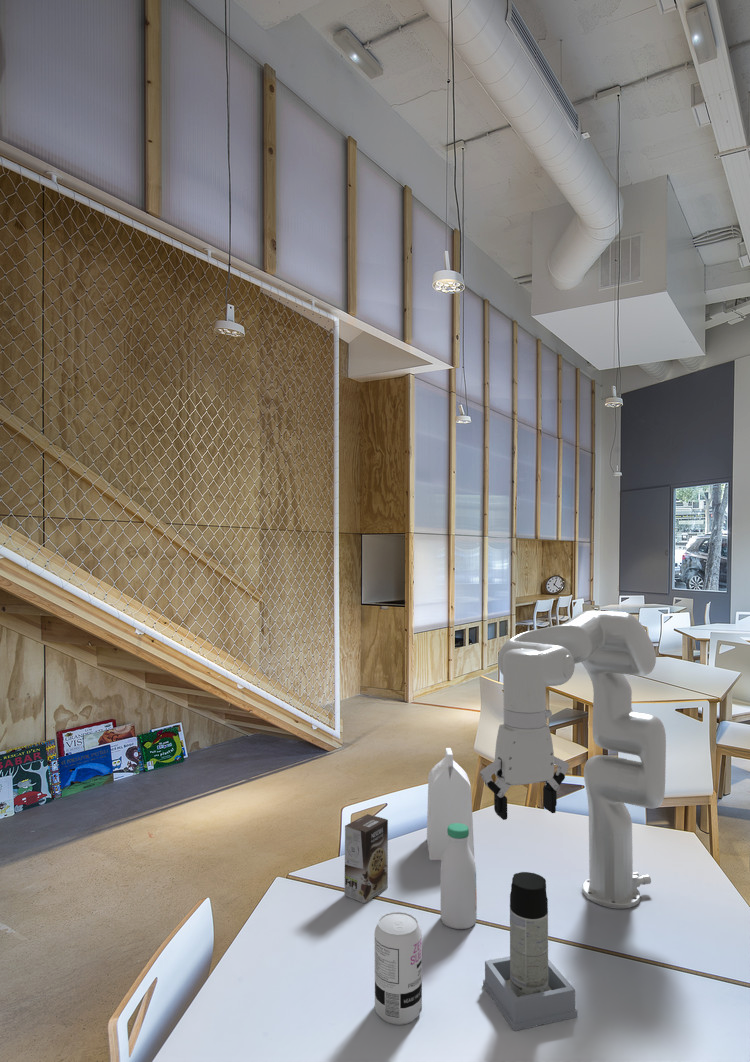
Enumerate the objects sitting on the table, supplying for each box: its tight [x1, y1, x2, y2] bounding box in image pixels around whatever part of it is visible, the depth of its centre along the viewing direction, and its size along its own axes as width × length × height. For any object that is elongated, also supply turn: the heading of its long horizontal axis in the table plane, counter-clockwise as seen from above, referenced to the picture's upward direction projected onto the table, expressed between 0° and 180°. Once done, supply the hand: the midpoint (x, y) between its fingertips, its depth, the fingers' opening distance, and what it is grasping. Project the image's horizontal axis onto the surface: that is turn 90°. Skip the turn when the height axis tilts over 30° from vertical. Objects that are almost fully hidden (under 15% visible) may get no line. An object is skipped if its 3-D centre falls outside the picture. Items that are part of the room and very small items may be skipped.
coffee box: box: [343, 813, 389, 904], centre depth 155 cm, size 9×6×16 cm
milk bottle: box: [440, 823, 478, 930], centre depth 143 cm, size 8×8×20 cm
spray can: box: [509, 871, 549, 997], centre depth 118 cm, size 7×7×20 cm
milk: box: [426, 747, 475, 861], centre depth 177 cm, size 12×12×26 cm
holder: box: [482, 955, 579, 1032], centre depth 118 cm, size 12×12×4 cm
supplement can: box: [374, 911, 423, 1026], centre depth 115 cm, size 8×8×15 cm
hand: (525, 813), depth 120 cm, fingers open, 9 cm apart
